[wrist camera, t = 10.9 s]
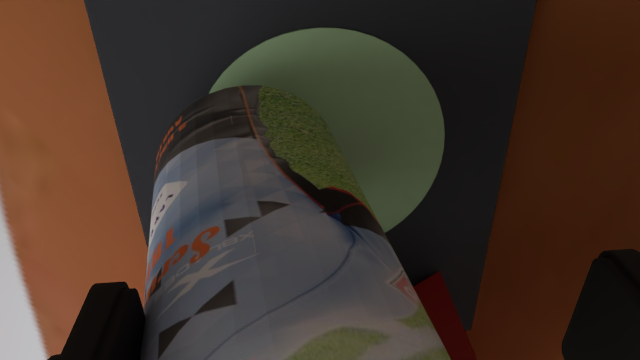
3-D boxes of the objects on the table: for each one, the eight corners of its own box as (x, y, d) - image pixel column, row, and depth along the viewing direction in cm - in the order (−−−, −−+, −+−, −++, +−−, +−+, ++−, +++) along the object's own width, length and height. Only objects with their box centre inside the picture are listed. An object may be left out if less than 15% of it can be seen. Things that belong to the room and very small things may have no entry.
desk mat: (45, -183, 13) (34, -187, 12) (564, -190, 14) (578, -194, 13) (176, 343, 23) (173, 356, 22) (467, 320, 24) (472, 332, 23)
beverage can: (168, 57, 15) (-38, 394, 5) (389, 93, 17) (579, 421, 6) (161, 219, 18) (24, 631, 8) (349, 238, 20) (433, 618, 9)
